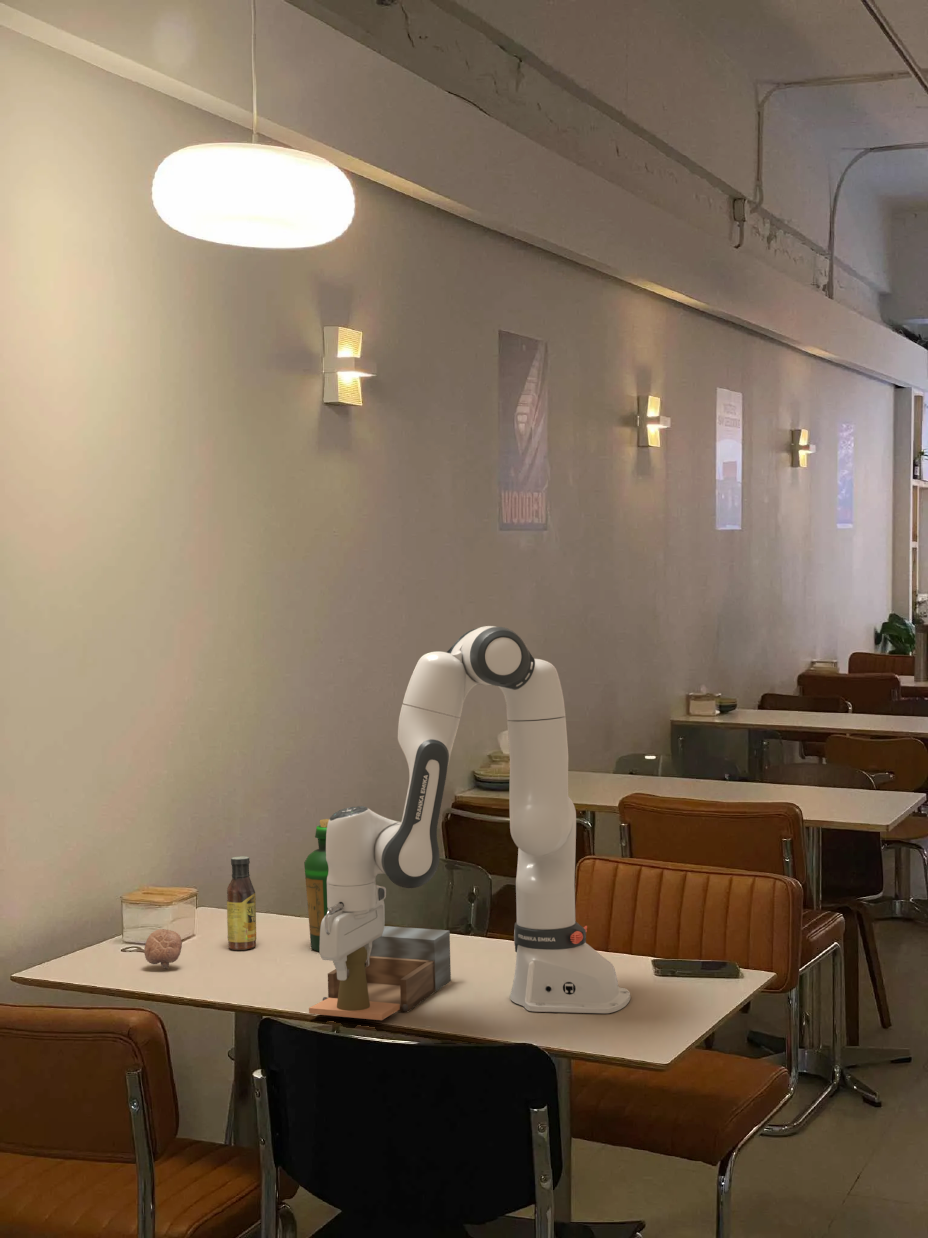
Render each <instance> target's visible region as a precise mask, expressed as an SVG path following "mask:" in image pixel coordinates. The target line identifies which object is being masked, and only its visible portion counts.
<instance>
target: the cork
mask: <svg viewBox="0 0 928 1238" xmlns="http://www.w3.org/2000/svg"><path fill="white" fill-rule="evenodd" d="M366 960H367V950H366V948H365V947H364V946H363V947H361V948H359V949H358V950H356V951H354V952H353V953H351V954H349V955H347V961H345V962H346V966H347V969H349V978H348V979H346V980H344V981H343V980H340V984H339V992H338V1000H337V1008H338V1009H341V1010H348V1011H355V1010H363V1009H367V1008H369V1007H370V1002H369V994H368V987H367V979H366V972H365V965H364V963H365V962H366Z"/></svg>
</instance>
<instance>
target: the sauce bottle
mask: <svg viewBox="0 0 928 1238" xmlns="http://www.w3.org/2000/svg"><path fill="white" fill-rule="evenodd" d="M230 864H231V881H230V882H229V883H228V886H227V888H226V889H227V890H226V894H227V897H226V898H227V899H226V915H227V917H226V919H227V921H226V922H227V941H228V944H227V945H228V948H229V949H230V950H232V951H246V950H250V949H254V948H255V947H256V945H257V908H256V907H257V906H256V905H257V904H256V901H257V900H256V891H255V888H254V886H253V882H252V881H251V880H252V879H251V877H250V876H251V875H250V864H251V862H250V857H249V856H246V855H245V856H244V855H242V856H241V855H240V856H233V857H231V858H230Z"/></svg>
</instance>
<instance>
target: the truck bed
mask: <svg viewBox="0 0 928 1238" xmlns="http://www.w3.org/2000/svg"><path fill="white" fill-rule="evenodd" d="M450 933H451V932H450V930H447V929H446V930H445V929H434V928H432V929H431V928H421V927H420V928H419V927H418V928H417V927H403V926H390V925H389V926H387V925H384V931H383V934H382V936H381V937H379V938H377V939H375V940H374V941H372V949H371V953H370V957H369V966H367V967H366V968H365V972H366V979H367V987H368V994H369V1001H372V1002H383V1003H395V1004H400V1010H398V1011H396V1012H395V1013H397V1012H398V1013H406V1014H407V1013H408V1012H410V1011H411V1010H413V1009H414V1008H415V1007H417V1006H418V1005H419V1004H421V1003H422V1002H424V1001H425V1000H426V999H427V998H429V997H431V996H432V995H433V994H435V993H436V992H437V991H439V990H440V989H442V988H444V986H446V985H447V984H448V983H450V982H451V981H452V979H451V978H452V976H451V975H452V974H451V971H452V970H451V940H450V939H451V936H450V935H451V934H450ZM339 984H340V980H338V979H337V970H336V968H335V969H333V970H331V971H330V972H328V973H327V997H326V996H323V998H322V1001H323V1000H325V999H327V998H338V992H339Z"/></svg>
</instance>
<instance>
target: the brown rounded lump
mask: <svg viewBox="0 0 928 1238" xmlns="http://www.w3.org/2000/svg"><path fill="white" fill-rule="evenodd" d="M147 937H148V938H146V942H145V944H144V947H143V948H144V949H143V950H144V952H143V953H144V958H145V961H147V962H148V963H149V964H151V965H159V964H160V965H161V967H162V968H163V969H165V970H168V969H169V968H170V964H171V963H174V962H177V960H178V959H179V957H180V955H181V951H182V948H183V947H182V946H183V942H182V938H181V936H180V934H179V933H178V932H176V931H174V930H171V929H170V930H169V929H165V928H159V929H156V930H154V931H152V932H151V933H149V936H147Z"/></svg>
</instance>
